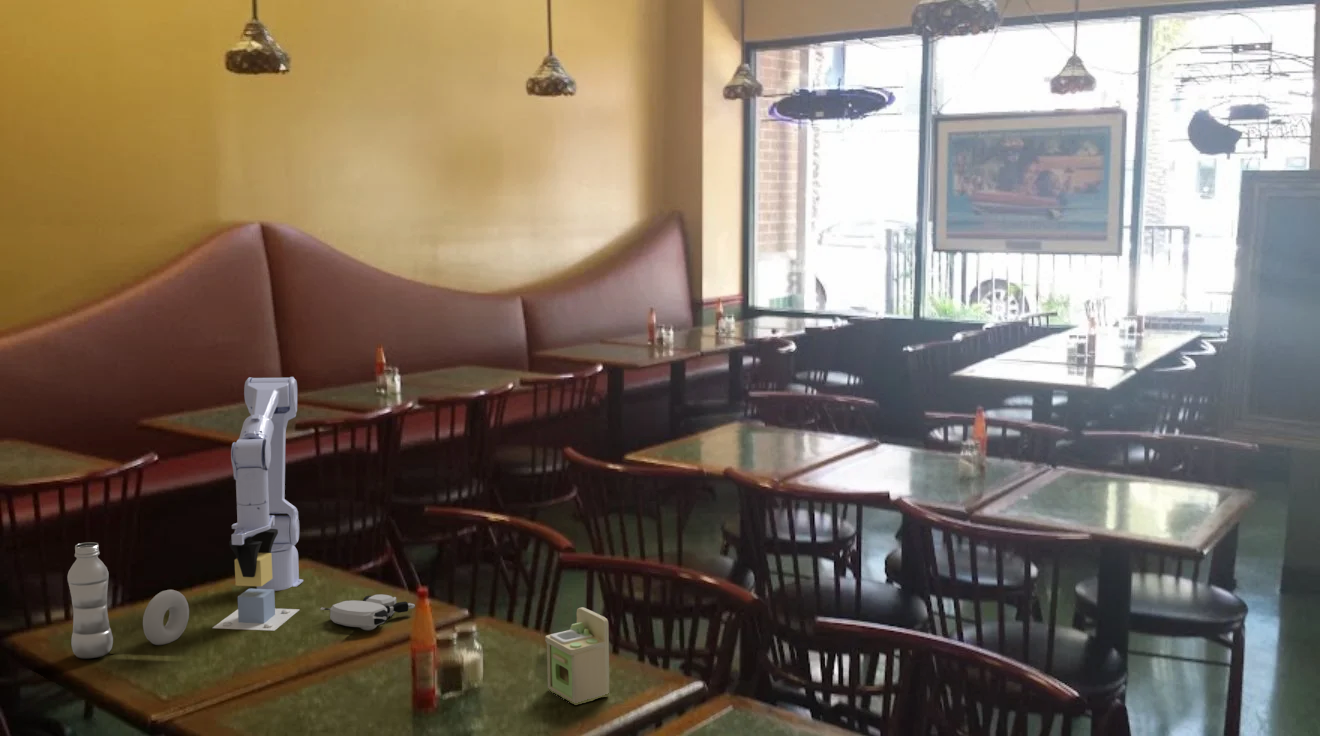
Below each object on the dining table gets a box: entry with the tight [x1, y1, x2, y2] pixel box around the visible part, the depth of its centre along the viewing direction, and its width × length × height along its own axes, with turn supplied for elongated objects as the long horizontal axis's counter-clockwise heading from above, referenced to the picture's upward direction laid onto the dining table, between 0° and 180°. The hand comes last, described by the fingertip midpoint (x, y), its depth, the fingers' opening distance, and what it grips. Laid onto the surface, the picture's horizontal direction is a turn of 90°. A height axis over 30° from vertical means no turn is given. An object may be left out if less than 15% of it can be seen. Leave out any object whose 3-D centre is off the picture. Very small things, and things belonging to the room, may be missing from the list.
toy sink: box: [544, 606, 610, 703], centre depth 192 cm, size 8×7×13 cm
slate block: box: [237, 588, 276, 623], centre depth 225 cm, size 5×5×5 cm
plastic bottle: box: [67, 542, 114, 659], centre depth 207 cm, size 6×7×20 cm
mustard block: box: [234, 553, 272, 587], centre depth 225 cm, size 5×5×5 cm
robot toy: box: [320, 593, 416, 631], centre depth 227 cm, size 12×4×15 cm
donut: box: [142, 589, 190, 646], centre depth 213 cm, size 10×3×10 cm, turn 161°
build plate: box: [212, 607, 300, 632], centre depth 226 cm, size 12×12×1 cm
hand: (255, 572), depth 225 cm, fingers closed on mustard block, 5 cm apart
